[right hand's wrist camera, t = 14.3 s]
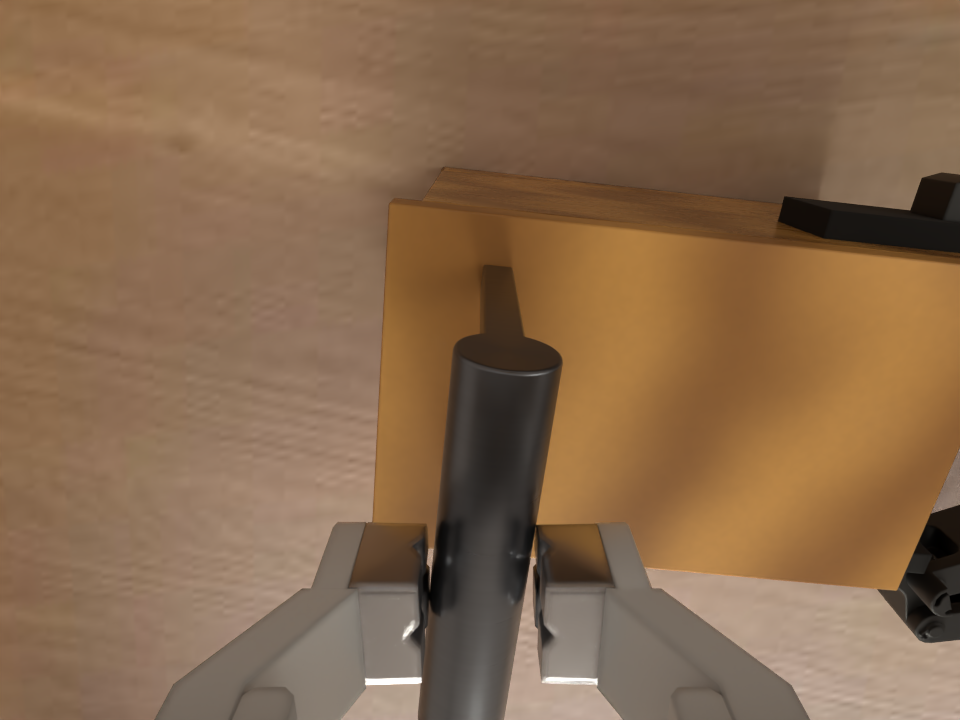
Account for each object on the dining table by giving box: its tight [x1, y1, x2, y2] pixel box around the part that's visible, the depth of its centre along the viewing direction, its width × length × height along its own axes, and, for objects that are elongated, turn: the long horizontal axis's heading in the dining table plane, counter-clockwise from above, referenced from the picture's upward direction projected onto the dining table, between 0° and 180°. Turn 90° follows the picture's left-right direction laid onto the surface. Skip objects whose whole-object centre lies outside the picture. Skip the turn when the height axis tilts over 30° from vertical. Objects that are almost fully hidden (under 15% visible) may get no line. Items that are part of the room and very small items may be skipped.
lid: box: [372, 198, 960, 720], centre depth 13 cm, size 15×9×8 cm, turn 84°
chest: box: [422, 167, 960, 259], centre depth 22 cm, size 15×9×10 cm, turn 84°
